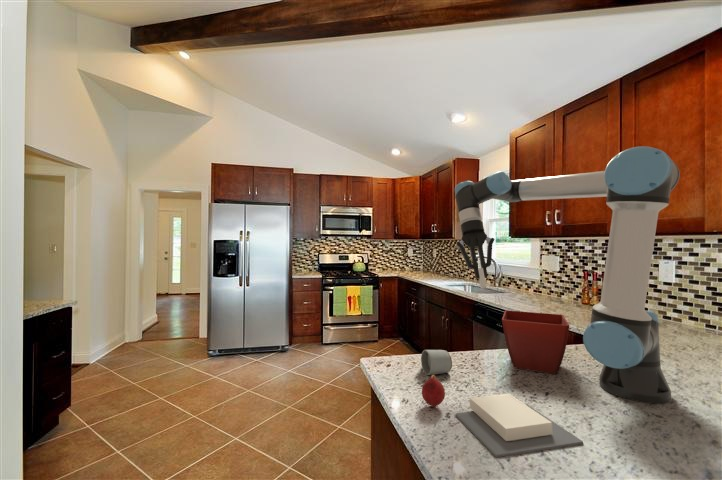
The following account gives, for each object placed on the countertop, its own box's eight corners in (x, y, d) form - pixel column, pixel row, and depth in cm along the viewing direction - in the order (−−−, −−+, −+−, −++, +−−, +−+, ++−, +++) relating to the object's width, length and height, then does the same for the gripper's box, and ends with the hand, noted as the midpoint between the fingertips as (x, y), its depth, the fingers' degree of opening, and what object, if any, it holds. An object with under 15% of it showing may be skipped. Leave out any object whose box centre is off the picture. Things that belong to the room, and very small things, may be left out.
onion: (440, 415, 76) (440, 381, 76) (418, 409, 79) (418, 377, 79) (447, 405, 81) (447, 373, 81) (426, 399, 84) (426, 369, 84)
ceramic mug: (454, 375, 100) (453, 351, 100) (431, 378, 98) (430, 353, 98) (437, 365, 110) (437, 342, 110) (416, 367, 108) (415, 345, 108)
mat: (455, 415, 76) (455, 413, 76) (527, 406, 80) (527, 404, 80) (496, 457, 60) (495, 455, 60) (583, 443, 64) (583, 441, 64)
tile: (508, 393, 80) (551, 422, 66) (508, 404, 80) (552, 435, 66) (469, 397, 78) (506, 428, 64) (469, 409, 78) (506, 442, 64)
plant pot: (565, 361, 112) (563, 313, 112) (571, 381, 95) (569, 325, 95) (506, 353, 121) (505, 309, 121) (503, 370, 104) (501, 319, 104)
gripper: (488, 224, 114) (502, 287, 106) (452, 228, 117) (462, 291, 109) (492, 216, 107) (506, 283, 99) (453, 221, 110) (464, 287, 102)
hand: (483, 287), depth 104 cm, fingers closed
